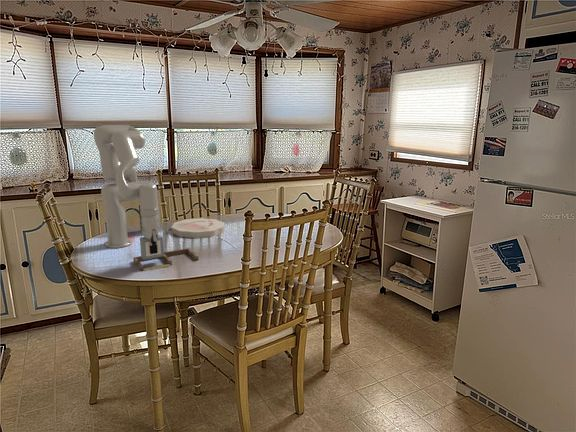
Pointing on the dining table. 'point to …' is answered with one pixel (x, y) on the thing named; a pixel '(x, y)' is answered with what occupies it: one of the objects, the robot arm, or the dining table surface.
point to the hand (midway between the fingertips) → (152, 251)
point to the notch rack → (170, 253)
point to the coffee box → (141, 220)
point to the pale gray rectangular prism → (146, 248)
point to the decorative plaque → (198, 228)
